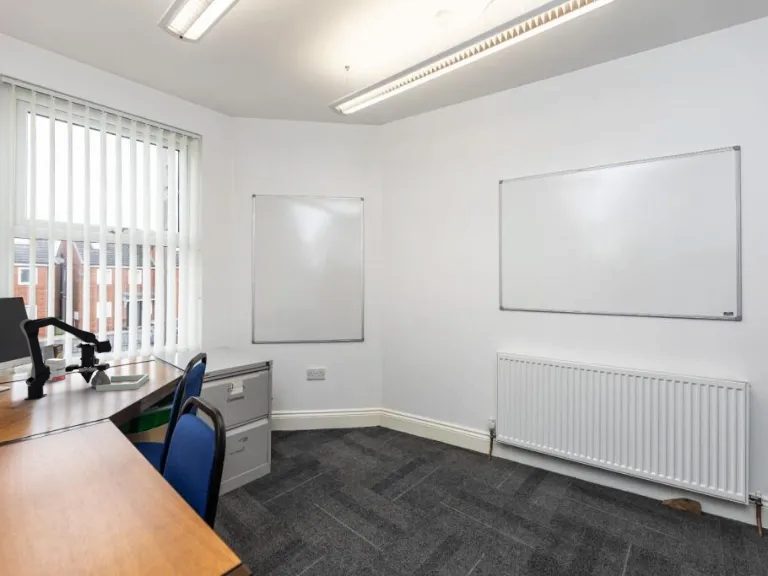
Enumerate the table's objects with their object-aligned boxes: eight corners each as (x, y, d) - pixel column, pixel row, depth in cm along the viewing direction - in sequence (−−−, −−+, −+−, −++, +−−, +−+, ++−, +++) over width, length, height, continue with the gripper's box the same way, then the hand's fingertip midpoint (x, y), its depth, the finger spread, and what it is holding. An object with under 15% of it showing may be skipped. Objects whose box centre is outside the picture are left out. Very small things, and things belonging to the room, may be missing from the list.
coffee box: (56, 372, 234) (55, 346, 233) (43, 372, 232) (42, 346, 231) (63, 368, 242) (63, 343, 242) (51, 368, 241) (51, 344, 240)
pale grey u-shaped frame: (136, 388, 204) (136, 383, 204) (96, 391, 199) (95, 385, 198) (148, 378, 222) (148, 373, 222) (111, 381, 217) (111, 375, 217)
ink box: (66, 378, 220) (66, 358, 220) (58, 381, 215) (57, 360, 215) (53, 377, 221) (52, 358, 221) (44, 380, 216) (44, 360, 216)
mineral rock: (92, 383, 211) (92, 366, 210) (115, 381, 215) (115, 364, 215) (85, 390, 199) (85, 372, 199) (110, 388, 203) (109, 370, 203)
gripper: (113, 351, 215) (113, 378, 216) (75, 352, 210) (75, 379, 211) (105, 355, 204) (105, 383, 205) (64, 356, 199) (64, 385, 200)
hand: (88, 383), depth 206 cm, fingers closed
